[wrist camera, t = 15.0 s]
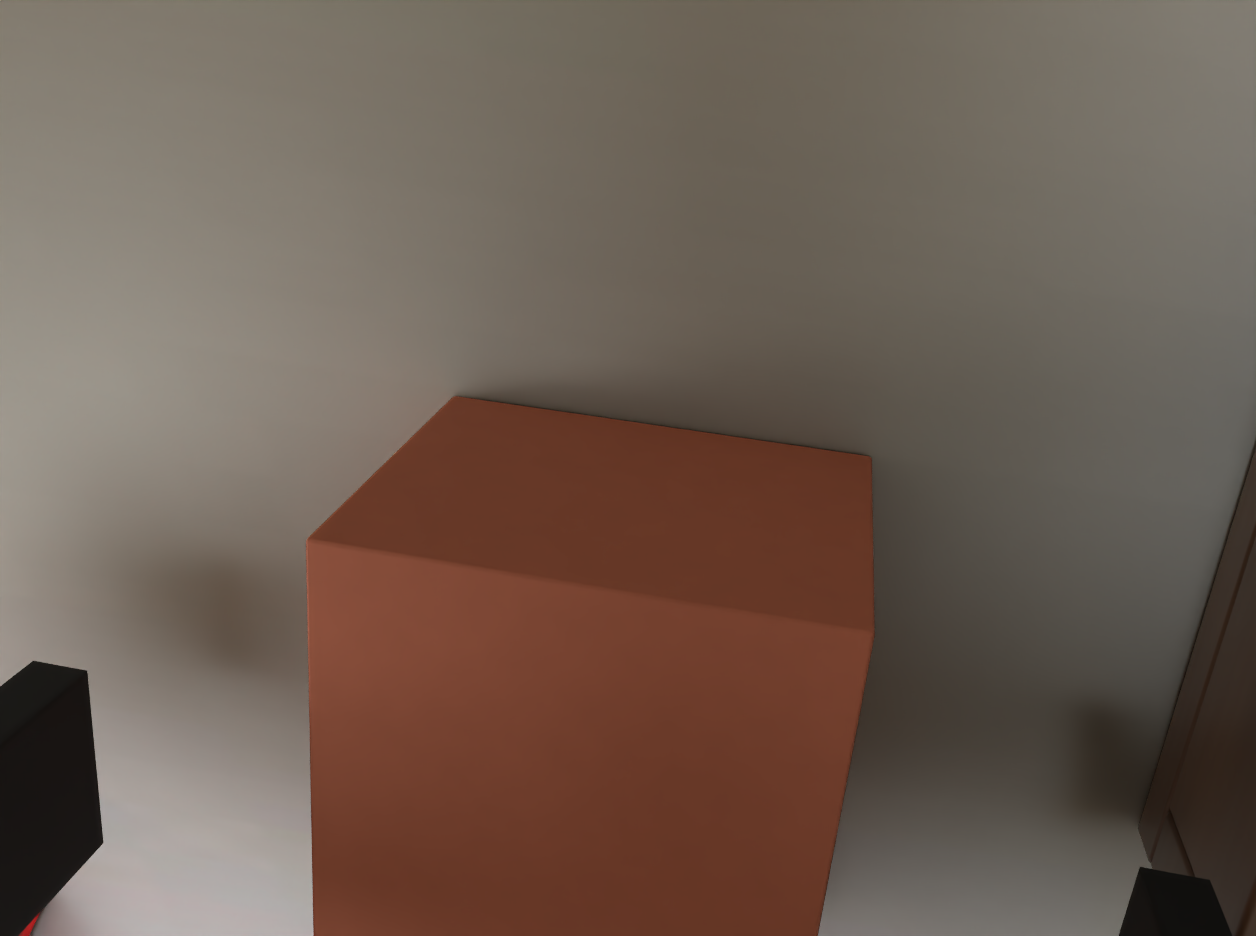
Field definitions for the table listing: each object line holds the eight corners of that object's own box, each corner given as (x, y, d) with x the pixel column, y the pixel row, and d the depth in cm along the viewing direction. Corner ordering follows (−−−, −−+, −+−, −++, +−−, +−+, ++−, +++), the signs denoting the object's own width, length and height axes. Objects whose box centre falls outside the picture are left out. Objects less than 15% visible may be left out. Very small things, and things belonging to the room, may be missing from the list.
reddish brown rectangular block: (453, 394, 17) (304, 538, 13) (872, 455, 16) (875, 633, 12) (439, 839, 20) (315, 1084, 16) (792, 908, 19) (770, 1190, 15)
